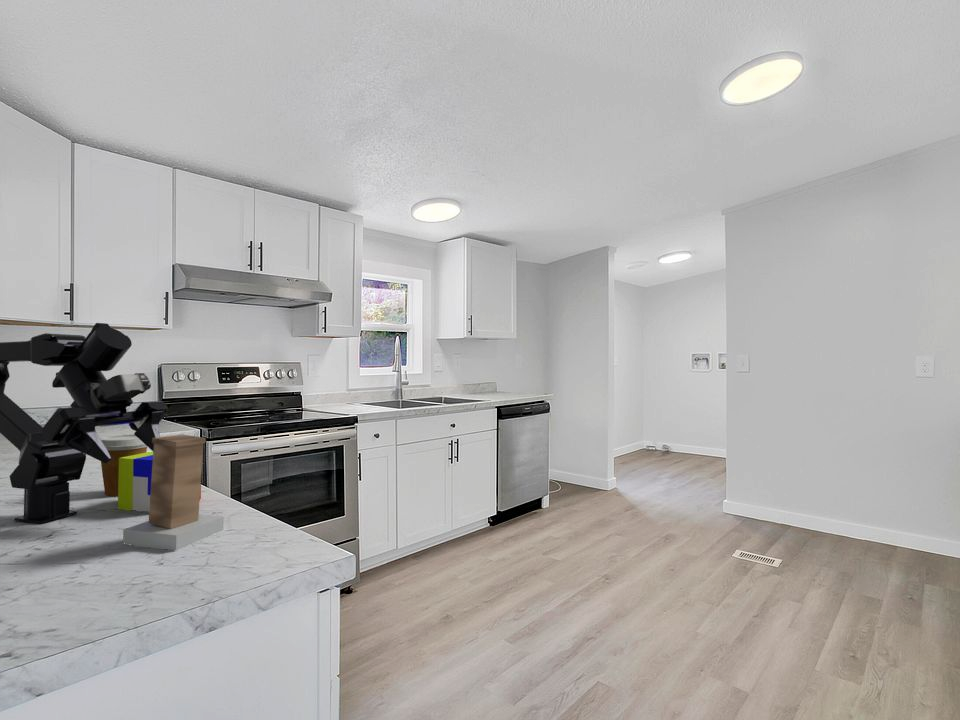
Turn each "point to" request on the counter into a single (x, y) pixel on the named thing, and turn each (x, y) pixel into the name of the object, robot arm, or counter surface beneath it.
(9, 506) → the counter surface
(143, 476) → the puzzle toy
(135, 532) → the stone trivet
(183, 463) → the walnut canister
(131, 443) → the disposable coffee cup
